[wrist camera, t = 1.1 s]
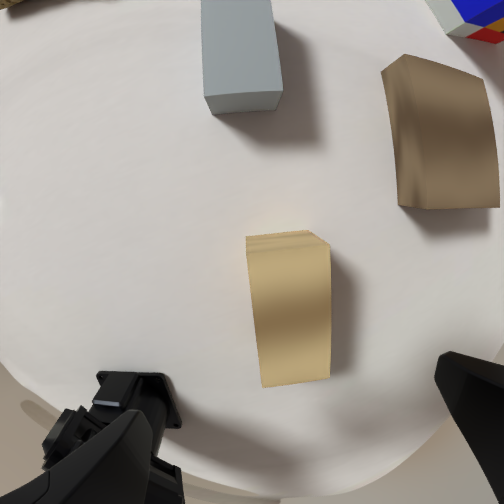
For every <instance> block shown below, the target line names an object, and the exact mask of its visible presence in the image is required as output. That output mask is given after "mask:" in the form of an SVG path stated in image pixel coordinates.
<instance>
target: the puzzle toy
mask: <svg viewBox="0 0 504 504" xmlns="http://www.w3.org/2000/svg"><path fill="white" fill-rule="evenodd" d="M425 2H426V3H427V5H428V6H429V8H430V9H431V11H432V12H433V14H434V15H435V17H436V19H437V20H438V22H439V24H440V25H441V27H442V29H443V31H444V32H445V34H446V35H453V36H460V37H466V38H471V39H476V40H481V41H486V42H490V43H494V44H497V43H499V42H501V41H504V0H425Z"/></svg>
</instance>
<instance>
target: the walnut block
mask: <svg viewBox="0 0 504 504" xmlns="http://www.w3.org/2000/svg"><path fill="white" fill-rule="evenodd" d="M381 75H382V80H383V84H384V89H385V94H386V99H387V105H388V111H389V117H390V123H391V130H392V138H393V146H394V155H395V166H396V179H397V196H398V205H402V206H409V207H415V208H421V209H427V210H429V209H456V208H500V187H499V169H498V157H497V148H496V140H495V133H494V127H493V121H492V116H491V111H490V106H489V101H488V97H487V93H486V89H485V85H484V81H483V79H481V78H479V77H476V76H474V75H471V74H469V73H466V72H463V71H461V70H458V69H455V68H452V67H449V66H446V65H443V64H440V63H437V62H433V61H430V60H427V59H423V58H419V57H415V56H411V55H407V54H404V55H402V56H401V57H400V58H398V59H397V60H396V61H394V62H393V63H392V64H390V65H389V66H388V67H387V68H385V69H384V70H383V71H381Z"/></svg>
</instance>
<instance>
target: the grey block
mask: <svg viewBox="0 0 504 504" xmlns="http://www.w3.org/2000/svg"><path fill="white" fill-rule="evenodd" d="M201 34H202V64H203V87H204V98H205V100H206V102H207V104H208V106H209V109H210V111H211V113H212V115H216V114H226V113H237V112H250V111H267V110H276V108H277V105H278V103H279V100H280V98H281V95H282V93H283V83H282V75H281V67H280V60H279V52H278V45H277V38H276V32H275V25H274V19H273V13H272V6H271V1H270V0H201Z"/></svg>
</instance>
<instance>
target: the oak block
mask: <svg viewBox="0 0 504 504" xmlns="http://www.w3.org/2000/svg"><path fill="white" fill-rule="evenodd" d="M246 256H247V265H248V274H249V282H250V291H251V299H252V307H253V316H254V324H255V333H256V341H257V349H258V357H259V365H260V374H261V382H262V388H266V387H275V386H283V385H290V384H297V383H304V382H310V381H316V380H321V379H327V378H330V360H331V262H330V244H328V243H327V242H325V241H324V240H322V239H321V238H319V237H318V236H316V235H315V234H313V233H312V232H310V231H309V230H302V231H292V232H283V233H274V234H264V235H255V236H246Z"/></svg>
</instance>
